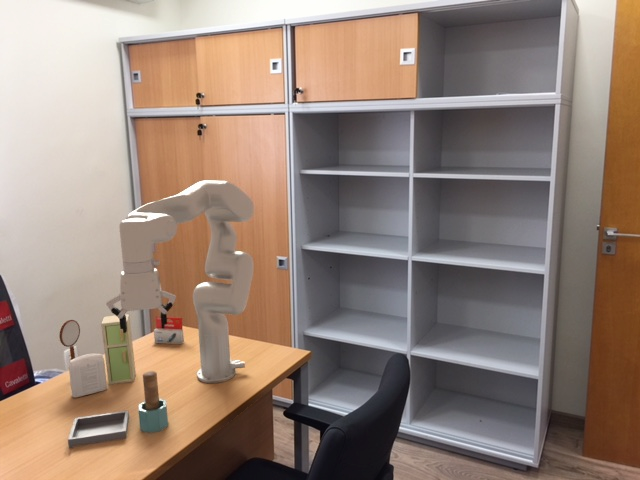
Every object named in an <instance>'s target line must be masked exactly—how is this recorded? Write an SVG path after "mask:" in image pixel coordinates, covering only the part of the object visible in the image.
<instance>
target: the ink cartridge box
mask: <svg viewBox="0 0 640 480" xmlns="http://www.w3.org/2000/svg"><path fill="white" fill-rule="evenodd" d="M167 320H170V321H167V324H165V329H163V328H162V326H161V316H155V326H156V327H155V329H153V339H154V343H159V344H176V345H182V344H183V343H184V342H185V338H184V337H185V336H184V329H183V317H172V316H167Z"/></svg>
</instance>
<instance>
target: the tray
mask: <svg viewBox="0 0 640 480" xmlns="http://www.w3.org/2000/svg"><path fill="white" fill-rule="evenodd" d="M129 412H130V411H129V410H122V411H114V412H108V413H100V414H93V415H87V416H80V417H75V418H74V419H73V423H72V425H71V429H70V432H69V436H68V439H67V443H68V449H69V450H70V449H71V450H72V449H73V448H74V447H80V446H85V445H93V444H99V443H100V444H101V443H104V442H105V443H106V442H111V441H117V440H124V439H125V440H126V439H127V438H128V437H127V435H128V431H129V420H130V413H129Z"/></svg>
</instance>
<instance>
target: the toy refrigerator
mask: <svg viewBox="0 0 640 480" xmlns="http://www.w3.org/2000/svg"><path fill="white" fill-rule="evenodd" d="M125 316H126V322H127V331H126V333H123V329H120V320H119V318H118V317H117V316H116V315H107V316H104V317H103V319H102V321H101V333H102V342H103V350H104V357H105V359H104V360H105V366H106V367H105V368H106V373H107V374H106V376H107V382H108V385H118V384H126V383H134V381H135V378H136V372H137V371H136V364H135V353H134V347H133V337H132V327H131V319H130V314H127V313H125Z"/></svg>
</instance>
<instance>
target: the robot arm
mask: <svg viewBox="0 0 640 480" xmlns="http://www.w3.org/2000/svg"><path fill="white" fill-rule="evenodd" d="M203 213H204V215H205V217H206V220H207V222H208V225H209V227H210V231H211V232H210V241H209V246H208V250H207V253H206V259H205V264H204V272H205V274H206V276H208V277H209V278H211V279H216V280H224V281H231V283H226V282H225V283H224V282H215V281H206V282H205V281H204V282H201V283H199V284H197V286H195V288H194V289H193V292H192V301H193V306H194V309H195V310H194V311H195V313H196V318H197V325H198V340H199V342H198V343H199V354H200V356H199V358H200V369H198V370H197V372H196V378H197V379H198V381H201V382H202V383H207V384H218V383H223V382H227V381H229V380H231V379H232V378H233V377H235V375H236V371H237V370H236V369H244V368H246V363H245V361H241V360H240V359H237V360H233V359H232V358H231V352H230V350H231V349H230V336H229V335H230V333H229V332H230V331H229V322H228V318H227V316H226V315H235V316H237V315H240V314H242V313H243V312H244V311H245V310H246V307H247V305H248V301H249V296H250V291H251V285H252V282H253V281H252V280H253V275H254V272H255V271H254V267H255V265H254V259H253V258H252V256H251V254H250V253H248V252H245V251H239V250H236V248H237V242H238V236H237V232H236V230H235V229H234V227H233V225H232V224H231V223H232V222H233V223H234V222H235V223H247V222H248V221H251V219H252V218H253V216H254V214H255V205H254V202H253V200H252V198H251V197H250V196H249V194H247V193H246V192H244V190H242V189H241V188H240V187H238V186H237V185H236V184H234V183H232V182H230V181H226V180H201V181H198V182H196V183H194V184H193V185H191V186H190V187H187V188H186V189H184V190H183V191H181V192H179V193H178V194H175V195H172V196H168V197H165V198H162V199H159V200H155V201H152V202H148V203H146V204H144V205H142V206H140V207H138V208H136V209H134V210H133V211H131V212H130V213H129V214H128V215H127V216H126V217H125V219H124V220H121V221H120V223H119V236H120V247H121V248H120V249H121V257H122V259H121V260H122V267H123V268H122V270H123V271H121V272H120V284H119V285H120V286H119V291H120V292H119V294H117V295H116V296H114V297H112V298H110V299H109V300H107V302H106V306H107V308H108V309H109V310H110V312H111V313H112V314H113V315H114V316H117V317H118V318H119V320H120V329H123V333H126V331H127V322H126V316H125V314H127V312H130V311H131V312H132V311H133V312H134V311H143V310H153V309H158V310H159V312H160V317H161V326H162V328H163V329H165V324H167V322H168V319H167V317H168V316H167V315H168V314H167V313H168V312H169V311H170V310H171V309H172V308H173V306H174V304H175V302H176V299H177V296H176V294H173V293H171V292H168V291H165V290H164V289H162V285H161V278H160V274H159V271H158V269H157V268H156V267H158V266H160V265H161V264H160V260H157V259H154V250H153V244H160V243H166V242H169V241H171V240H172V239H174V237H175V236H176V235H177V233H178V226H179V225H178V224H184V223H189V222H191V221H194V220H195V219H197V218H198V217H199V216H200V215H202V214H203ZM163 298H166V299H168V302H167V303H166V304H164V303H163ZM119 301H120V305H121V306H120V307H121V309H119V308H118V307H116V306H115V304H116V303H118V302H119Z"/></svg>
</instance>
